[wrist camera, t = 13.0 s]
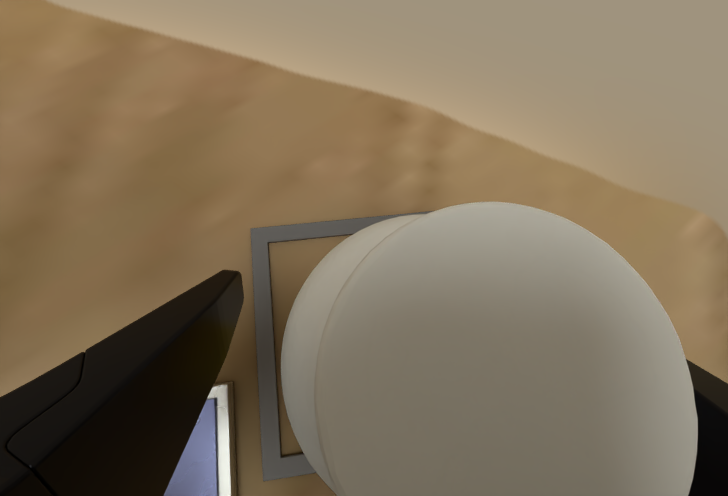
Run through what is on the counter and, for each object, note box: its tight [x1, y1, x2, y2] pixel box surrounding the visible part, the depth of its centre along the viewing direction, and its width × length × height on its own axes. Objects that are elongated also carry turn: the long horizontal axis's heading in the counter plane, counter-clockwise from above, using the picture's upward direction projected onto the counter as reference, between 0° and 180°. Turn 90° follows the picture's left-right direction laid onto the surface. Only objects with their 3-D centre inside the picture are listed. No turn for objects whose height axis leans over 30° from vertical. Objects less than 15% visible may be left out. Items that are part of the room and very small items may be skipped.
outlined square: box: [251, 211, 433, 481], centre depth 16 cm, size 12×12×1 cm
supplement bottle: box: [281, 202, 698, 496], centre depth 10 cm, size 7×7×13 cm
